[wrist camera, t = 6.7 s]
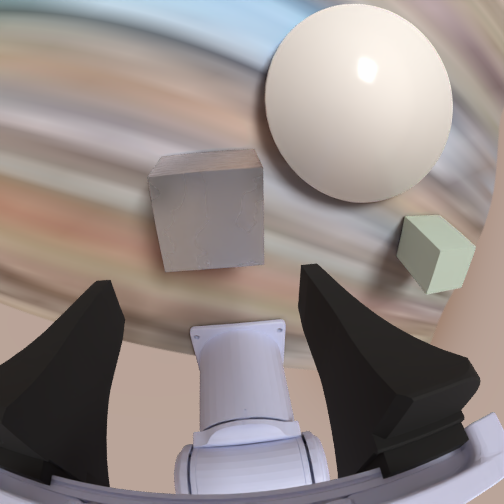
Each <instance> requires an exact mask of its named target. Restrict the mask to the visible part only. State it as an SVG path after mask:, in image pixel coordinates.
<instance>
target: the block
mask: <svg viewBox="0 0 504 504" xmlns="http://www.w3.org/2000/svg"><path fill="white" fill-rule="evenodd" d="M475 248H476V246H475V245H473V244H472V243H471V242H470V241H469V240H468V239H467V238H466V237H465V236H463V235H462V234H461V233H460V232H459V231H458V230H457V229H455V228H454V227H453V226H452V225H451V224H450V223H448V222H447V221H446V220H445V219H444V218H443V217H441V216H440V215H424V216H405V218H404V224H403V228H402V233H401V238H400V242H399V247H398V251H397V255H396V256H397V258H398V259H399V260H400V261H401V263H402V264H403V265H404V266H405V268H406V269H407V270H408V271H409V273H410V274H411V275H412V276H413V278H414V279H415V280H416V282H417V283H418V284H419V286H420V287H421V288H422V290H423V291H424V292H425V294H432V293H437V292H442V291H447V290H452V289H456V288H461V286H462V284H463V281H464V279H465V276H466V274H467V271H468V268H469V266H470V263H471V259H472V257H473V254H474V251H475Z"/></svg>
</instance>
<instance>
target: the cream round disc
mask: <svg viewBox="0 0 504 504" xmlns="http://www.w3.org/2000/svg"><path fill="white" fill-rule="evenodd" d="M264 100H265V111H266V117H267V121H268V126H269V129H270V132H271V134H272V137H273V140H274V142H275V144H276V146H277V148H278V149H279V151H280V153H281V155H282V156H283V157H284V159H285V160H286V162H287V163H288V164H289V166H290V167H291V168H292V169H293V170H294V171H295V172H296V174H297V175H298V176H299V177H300V178H302V179H303V180H304V181H305V182H306V183H308V184H309V185H310V186H312V187H313V188H315V189H317V190H318V191H320V192H322V193H324V194H326V195H328V196H330V197H333V198H337V199H340V200H343V201H349V202H360V203H367V202H377V201H381V200H386V199H389V198H392V197H394V196H397V195H399V194H401V193H403V192H405V191H407V190H409V189H410V188H411V187H413V186H414V185H416V184H417V183H418V182H419V181H420V180H422V179H423V178H424V177H425V176H426V175H427V174H428V172H429V171H430V170H431V169H432V168H433V166H434V165H435V163H436V162H437V160H438V159H439V157H440V155H441V153H442V151H443V150H444V147H445V145H446V142H447V139H448V136H449V132H450V128H451V122H452V112H453V102H452V92H451V86H450V81H449V78H448V75H447V72H446V69H445V67H444V65H443V62H442V60H441V58H440V56H439V55H438V53H437V51H436V50H435V48H434V47H433V45H432V44H431V43H430V42H429V40H428V39H427V38H426V37H425V36H424V35H423V34H422V33H421V32H420V31H419V30H418V29H417V28H416V27H415V26H414V25H412V24H411V23H410V22H408V21H407V20H405V19H404V18H402V17H400V16H399V15H397V14H395V13H392V12H390V11H388V10H386V9H382V8H379V7H375V6H371V5H364V4H344V5H338V6H333V7H330V8H326V9H323V10H321V11H319V12H317V13H315V14H313V15H311V16H309V17H307V18H306V19H304V20H303V21H302V22H300V23H299V24H297V25H296V26H295V27H294V28H293V29H292V30H291V31H290V32H289V33H288V34H287V35H286V36H285V38H284V39H283V41H282V42H281V43H280V45H279V46H278V48H277V50H276V52H275V54H274V56H273V58H272V60H271V63H270V66H269V69H268V72H267V78H266V83H265V99H264Z"/></svg>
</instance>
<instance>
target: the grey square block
mask: <svg viewBox="0 0 504 504" xmlns="http://www.w3.org/2000/svg"><path fill="white" fill-rule="evenodd" d="M147 179H148V185H149V191H150V197H151V203H152V208H153V214H154V219H155V225H156V230H157V235H158V240H159V245H160V250H161V254H162V259H163V264H164V268H165V272H175V271H189V270H202V269H216V268H229V267H242V266H255V265H264V199H263V166H262V164H261V162H260V160H259V158H258V156H257V153H256V151H255V149H243V150H227V151H214V152H202V153H191V154H181V155H172V156H163V157H161V158H160V159H159V161H158V162H157V164H156V165H155V167H154V168H153V170H152V171H151V173H150V174H149V176H148V177H147Z"/></svg>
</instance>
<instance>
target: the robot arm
mask: <svg viewBox="0 0 504 504" xmlns="http://www.w3.org/2000/svg"><path fill="white" fill-rule="evenodd" d="M298 309H299V313H300V318H301V323H302V327H303V331H304V334H305V337H306V339H307V342H308V345H309V348H310V351H311V353H312V356H313V359H314V362H315V365H316V368H317V370H318V373H319V376H320V379H321V383H322V386H323V391H324V395H325V399H326V404H327V409H328V414H329V419H330V424H331V430H332V436H333V442H334V448H335V455H336V463H337V471H338V479H334V480H330V477H329V470H328V466H327V461H326V457H325V453H324V450H323V447H322V444H321V442H320V440H319V438H318V437H316V436H315V435H313V434H312V433H311V432H310V431H306V432H302V433H301V432H300V427H299V422H298V421H294V416H293V411H292V407H291V402H290V397H289V392H288V387H287V383H286V378H285V373H284V368H283V361H284V344H285V327H286V325H285V321H284V320H282V319H277V320H268V321H257V322H246V323H235V324H222V325H208V326H194V327H192V328H191V329H190V336H191V340H192V344H193V347H194V351H195V355H196V359H197V363H198V366H199V370H200V432H194V433H193V444H189V445H186V446H184V447H183V449H182V451H181V452H180V453H179V455H178V456H177V459H176V462H175V470H174V482H175V491H176V494H165V493H152V492H141V491H132V490H124V489H116V488H111V487H110V485H109V477H108V466H107V442H106V436H107V414H108V402H109V395H110V389H111V385H112V380H113V376H114V372H115V368H116V364H117V360H118V356H119V352H120V348H121V344H122V339H123V332H124V323H125V318H124V315H123V313H122V310H121V308H120V305H119V302H118V300H117V297H116V294H115V292H114V289H113V286H112V283H111V280H103V281H96V282H95V283H94V284H93V285H91V286H90V287H89V288H88V289H87V290H86V291H85V292H84V293H83V294H82V295H81V296H80V297H79V298H78V299H77V300H76V301H75V302H74V303H73V304H72V305H71V306H70V307H69V308H68V309H67V310H66V311H65V312H64V313H63V314H62V315H61V316H60V317H59V318H58V319H57V320H56V321H55V322H54V323H53V324H52V325H51V326H50V327H49V328H48V329H47V330H46V331H45V332H44V333H42V334H41V335H40V336H39V337H38V338H37V339H36V340H34V341H33V342H32V343H31V344H29V345H28V346H27V347H26V348H24V349H23V350H22V351H20V352H19V353H17V354H16V355H15V356H13V357H12V358H11V359H9V360H8V361H6V362H5V363H3V364H1V365H0V504H466V503H467V502H468V501H470V500H472V499H474V498H475V497H477V496H478V495H480V494H481V493H483V492H484V491H486V490H487V489H489V488H490V487H492V486H493V485H495V484H496V483H497V482H499V481H500V480H502V479H503V478H504V430H503V428H502V426H501V424H500V422H499V420H498V418H497V416H496V414H495V412H492V413H490V414H488V415H487V416H485V417H483V418H481V419H479V420H477V421H475V422H473V423H472V424H470V425H469V426H467V427H466V428H464V427H463V425H462V423H461V422H462V421H463V420H464V415H463V413H462V411H461V410H462V408H463V407H464V406H465V405H466V404H467V403H468V401H469V400H470V399H471V397H473V395H474V394H475V393H476V391H477V390H478V387H479V385H480V377H479V376H478V374H477V372H476V371H475V369H474V367H473V366H472V364H471V363H470V361H469V360H468V358H466V357H463V356H460V355H457V354H454V353H451V352H448V351H445V350H442V349H440V348H437V347H435V346H432V345H430V344H428V343H426V342H424V341H421V340H419V339H417V338H415V337H413V336H411V335H410V334H408V333H406V332H404V331H402V330H400V329H399V328H397V327H395V326H393V325H392V324H390V323H389V322H387V321H386V320H384V319H383V318H381V317H380V316H378V315H377V314H375V313H374V312H372V311H371V310H370V309H368V308H367V307H366V306H365V305H363V304H362V303H361V302H359V301H358V300H357V299H356V298H354V297H353V296H352V295H351V294H350V293H349V292H347V291H346V290H345V289H344V288H343V287H342V286H341V285H340V284H338V283H337V282H336V281H335V280H334V279H333V278H332V277H331V276H330V275H329V274H328V273H327V272H326V271H324V270H323V269H322V268H321V267H320V266H319V265H318V264H308V265H301V274H300V288H299V302H298ZM279 328H281V329H279ZM195 335H198V336H195Z"/></svg>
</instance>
